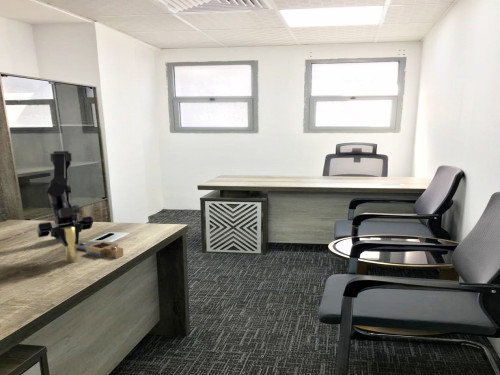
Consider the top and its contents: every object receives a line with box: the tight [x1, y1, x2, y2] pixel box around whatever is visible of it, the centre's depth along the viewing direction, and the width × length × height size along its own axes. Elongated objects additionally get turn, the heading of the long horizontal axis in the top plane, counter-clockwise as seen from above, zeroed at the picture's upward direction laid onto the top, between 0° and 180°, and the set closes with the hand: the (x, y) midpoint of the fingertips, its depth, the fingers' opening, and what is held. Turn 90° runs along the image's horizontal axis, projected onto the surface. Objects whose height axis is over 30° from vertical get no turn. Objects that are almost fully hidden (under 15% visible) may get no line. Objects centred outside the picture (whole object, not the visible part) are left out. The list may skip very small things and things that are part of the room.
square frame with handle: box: [76, 240, 124, 259], centre depth 149 cm, size 24×8×3 cm, turn 60°
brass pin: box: [64, 226, 78, 264], centre depth 138 cm, size 4×4×13 cm
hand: (71, 245), depth 137 cm, fingers closed on brass pin, 4 cm apart
